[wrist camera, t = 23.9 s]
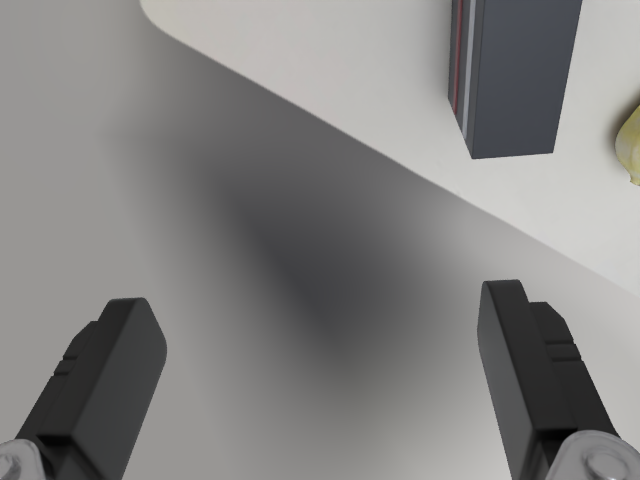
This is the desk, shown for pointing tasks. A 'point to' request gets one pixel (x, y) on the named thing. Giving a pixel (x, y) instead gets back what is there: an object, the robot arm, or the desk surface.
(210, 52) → the desk surface
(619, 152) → the fruit
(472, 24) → the block
